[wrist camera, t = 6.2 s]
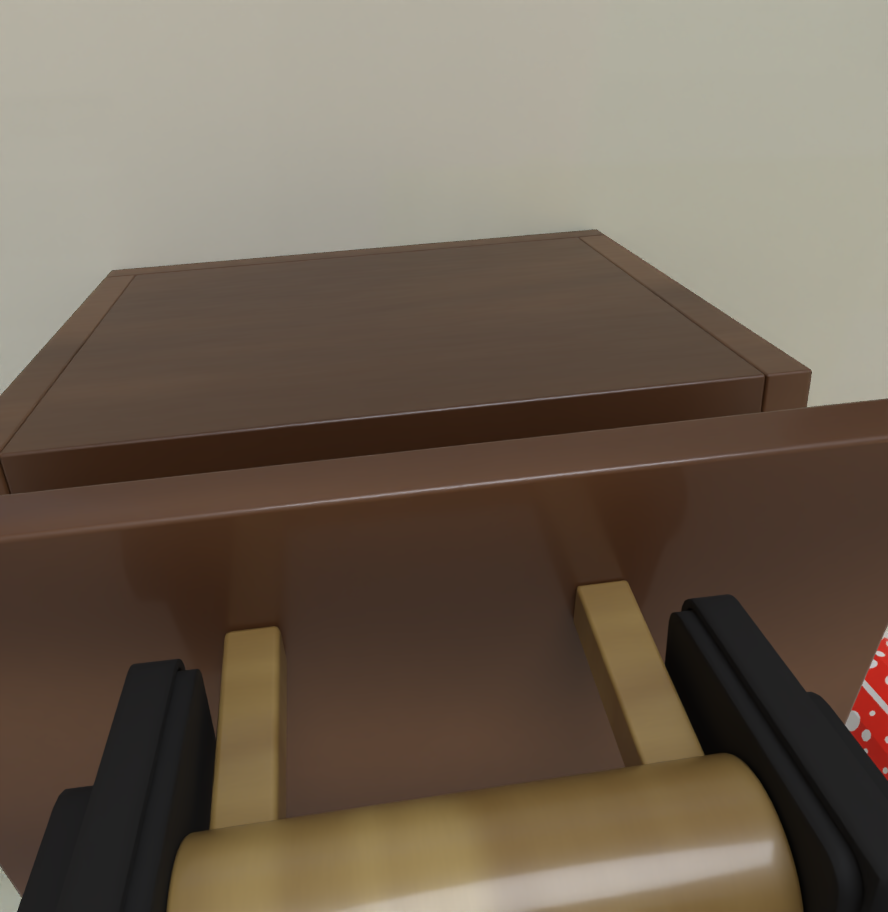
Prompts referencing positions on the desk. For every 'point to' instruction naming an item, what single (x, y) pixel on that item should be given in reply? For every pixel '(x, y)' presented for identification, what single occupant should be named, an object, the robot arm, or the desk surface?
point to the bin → (374, 359)
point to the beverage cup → (873, 710)
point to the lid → (451, 659)
